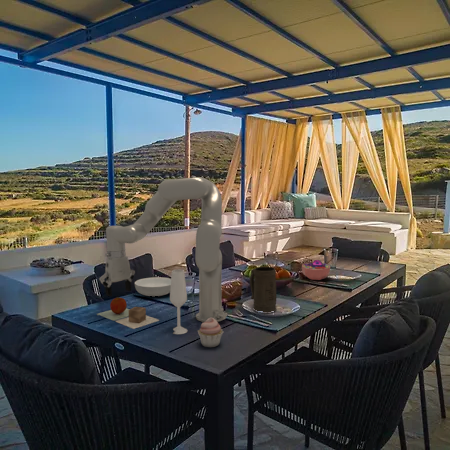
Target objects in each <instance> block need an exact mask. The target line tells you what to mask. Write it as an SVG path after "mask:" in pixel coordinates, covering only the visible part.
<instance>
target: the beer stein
mask: <svg viewBox="0 0 450 450" xmlns="http://www.w3.org/2000/svg"><path fill="white" fill-rule="evenodd" d="M250 271H251V272H250V273H251V274H250V277H249V287H250V290H251V297H250V300H253V306H252V309H253V308H254V309H255V310H257V311H263V312H271V311H275V312H276V311H277V306H276V305H277V281H276V280H277V279H276V275H277V274H276V273H277V272H276V268H274V267H271V266H270V267H269V266H259V267H256V268H253V269H252V268H251V270H250Z"/></svg>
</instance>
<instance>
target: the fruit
mask: <svg viewBox="0 0 450 450" xmlns="http://www.w3.org/2000/svg"><path fill="white" fill-rule="evenodd" d="M109 304H110V310H112V312H113V313H116V314H120V313H123V312H124V311H125V310H126V308H127V301H126V299H125V298H123V297H119V296H118V295H117V296H116V297H115V298H113V299H112V300H111V301H110V303H109Z"/></svg>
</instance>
